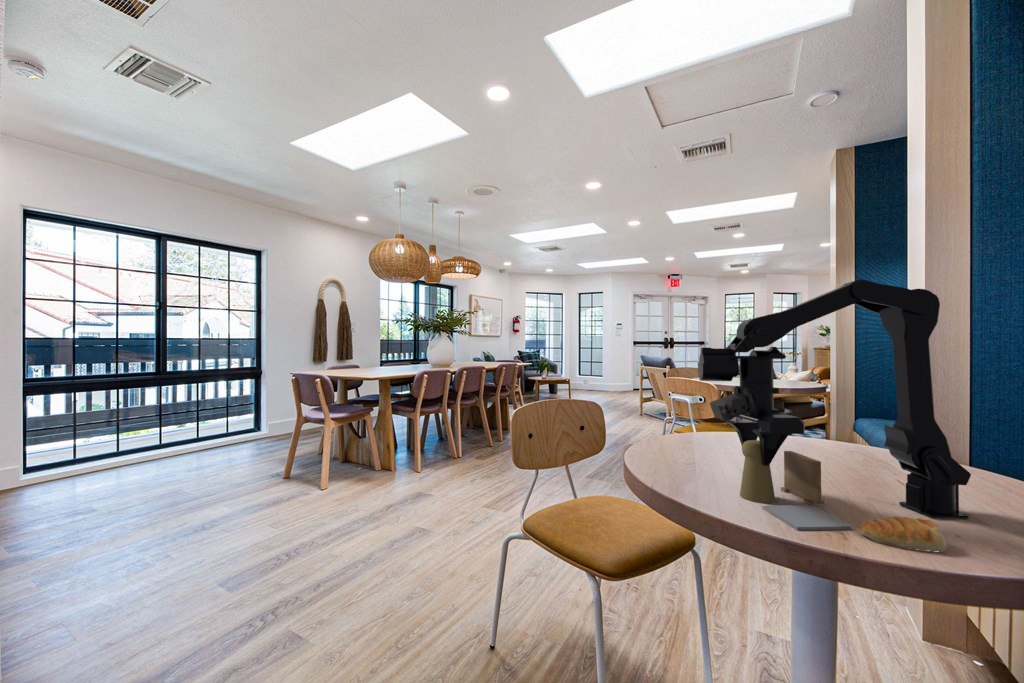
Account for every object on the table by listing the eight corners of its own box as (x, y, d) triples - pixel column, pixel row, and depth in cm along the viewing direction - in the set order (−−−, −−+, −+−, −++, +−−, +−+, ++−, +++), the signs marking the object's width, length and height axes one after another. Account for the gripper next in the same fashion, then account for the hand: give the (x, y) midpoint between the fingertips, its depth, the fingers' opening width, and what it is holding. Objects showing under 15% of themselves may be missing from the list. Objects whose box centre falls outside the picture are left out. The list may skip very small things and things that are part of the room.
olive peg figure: (773, 505, 78) (773, 446, 78) (737, 498, 81) (736, 441, 81) (776, 496, 82) (776, 440, 83) (742, 489, 86) (741, 436, 86)
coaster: (810, 507, 77) (810, 505, 77) (851, 529, 68) (851, 526, 68) (762, 508, 76) (762, 505, 76) (797, 530, 67) (797, 527, 67)
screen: (795, 489, 86) (795, 450, 86) (825, 504, 78) (825, 461, 78) (780, 489, 86) (780, 451, 86) (809, 504, 78) (808, 461, 78)
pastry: (874, 548, 62) (874, 522, 62) (849, 529, 68) (849, 506, 68) (952, 556, 59) (952, 529, 59) (919, 535, 66) (918, 511, 66)
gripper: (693, 378, 91) (694, 450, 91) (743, 386, 73) (744, 476, 72) (743, 378, 92) (744, 449, 91) (806, 386, 73) (807, 476, 73)
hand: (757, 461), depth 82 cm, fingers closed on olive peg figure, 5 cm apart
